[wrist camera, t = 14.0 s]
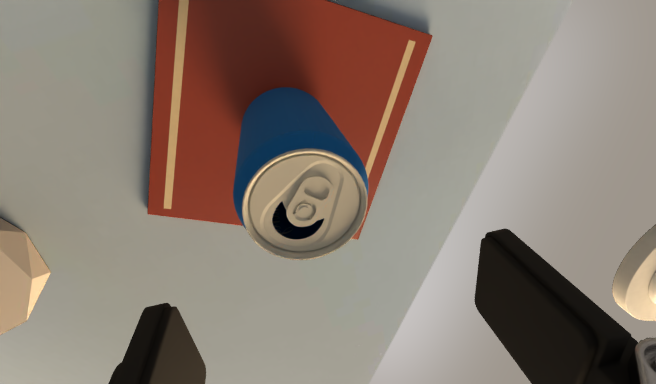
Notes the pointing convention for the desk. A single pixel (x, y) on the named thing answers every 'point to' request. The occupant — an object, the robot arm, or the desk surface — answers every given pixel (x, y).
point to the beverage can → (297, 177)
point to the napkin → (263, 75)
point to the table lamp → (18, 276)
